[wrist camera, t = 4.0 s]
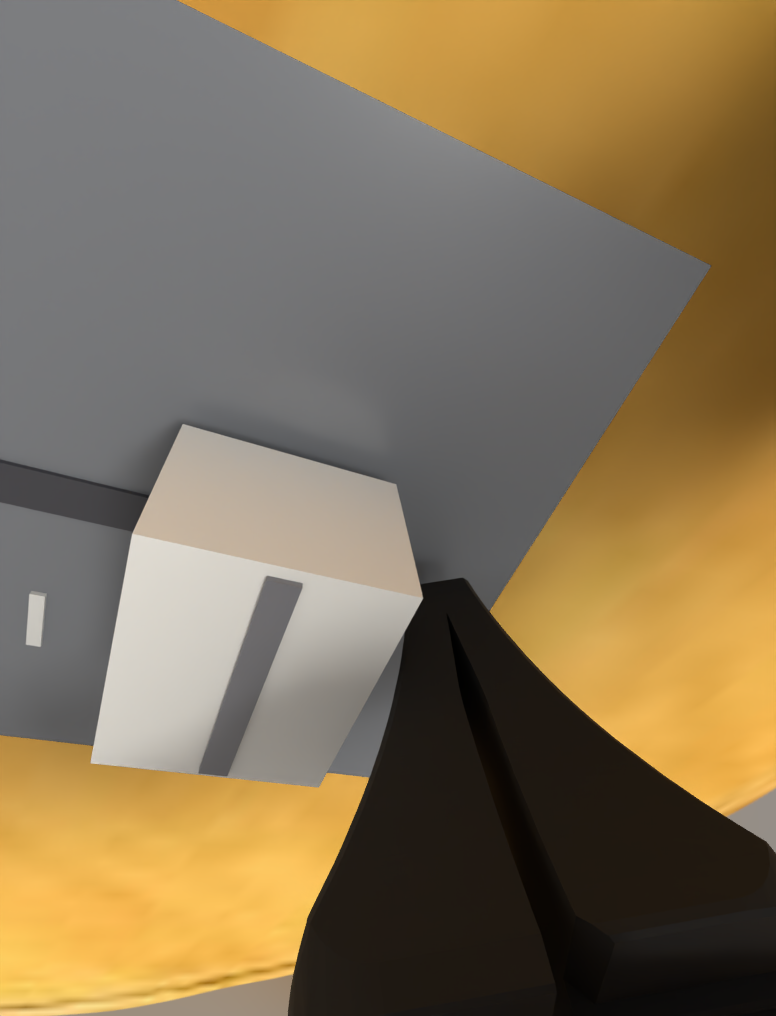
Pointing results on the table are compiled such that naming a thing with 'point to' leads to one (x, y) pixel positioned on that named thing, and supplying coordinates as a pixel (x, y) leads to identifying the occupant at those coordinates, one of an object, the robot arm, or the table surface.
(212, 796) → the table surface
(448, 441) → the slide fader panel
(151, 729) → the fader knob
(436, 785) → the robot arm
